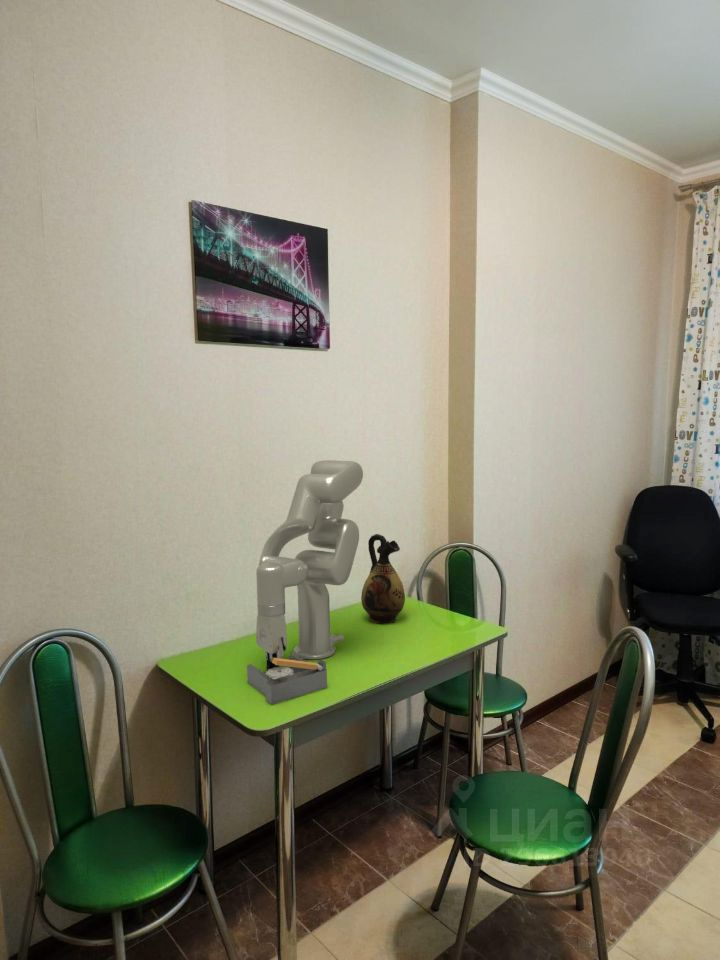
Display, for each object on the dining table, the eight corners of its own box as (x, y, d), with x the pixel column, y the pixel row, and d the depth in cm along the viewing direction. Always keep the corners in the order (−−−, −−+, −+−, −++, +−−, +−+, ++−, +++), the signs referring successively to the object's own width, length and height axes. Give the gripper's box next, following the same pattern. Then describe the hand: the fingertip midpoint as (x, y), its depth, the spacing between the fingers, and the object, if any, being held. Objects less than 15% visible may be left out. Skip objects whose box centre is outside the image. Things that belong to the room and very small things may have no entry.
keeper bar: (316, 667, 172) (317, 662, 172) (322, 670, 170) (323, 666, 170) (271, 661, 164) (272, 657, 164) (276, 665, 161) (278, 660, 161)
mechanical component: (301, 692, 169) (295, 677, 179) (301, 676, 169) (294, 662, 178) (263, 697, 166) (259, 681, 176) (263, 681, 166) (258, 666, 176)
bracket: (296, 668, 184) (296, 645, 183) (327, 687, 171) (326, 663, 170) (243, 683, 174) (242, 659, 173) (271, 705, 161) (270, 679, 161)
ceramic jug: (413, 617, 227) (413, 534, 224) (388, 629, 215) (387, 542, 211) (375, 609, 237) (374, 529, 234) (349, 620, 225) (347, 536, 222)
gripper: (247, 604, 179) (249, 668, 181) (271, 618, 167) (274, 686, 169) (270, 600, 184) (272, 661, 186) (297, 613, 172) (298, 678, 174)
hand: (273, 673), depth 178 cm, fingers closed
